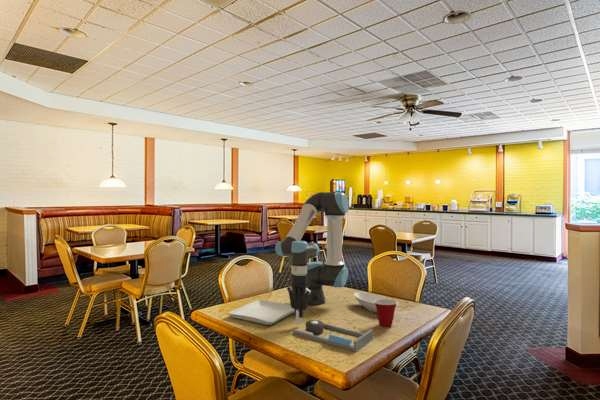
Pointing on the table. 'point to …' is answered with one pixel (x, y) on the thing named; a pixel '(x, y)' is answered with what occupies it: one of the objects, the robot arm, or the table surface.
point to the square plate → (262, 312)
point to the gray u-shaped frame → (340, 338)
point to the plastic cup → (385, 311)
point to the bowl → (369, 300)
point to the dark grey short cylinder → (314, 327)
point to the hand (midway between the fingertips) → (298, 323)
